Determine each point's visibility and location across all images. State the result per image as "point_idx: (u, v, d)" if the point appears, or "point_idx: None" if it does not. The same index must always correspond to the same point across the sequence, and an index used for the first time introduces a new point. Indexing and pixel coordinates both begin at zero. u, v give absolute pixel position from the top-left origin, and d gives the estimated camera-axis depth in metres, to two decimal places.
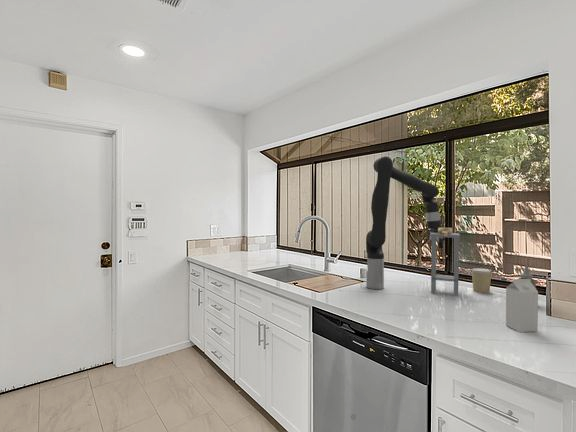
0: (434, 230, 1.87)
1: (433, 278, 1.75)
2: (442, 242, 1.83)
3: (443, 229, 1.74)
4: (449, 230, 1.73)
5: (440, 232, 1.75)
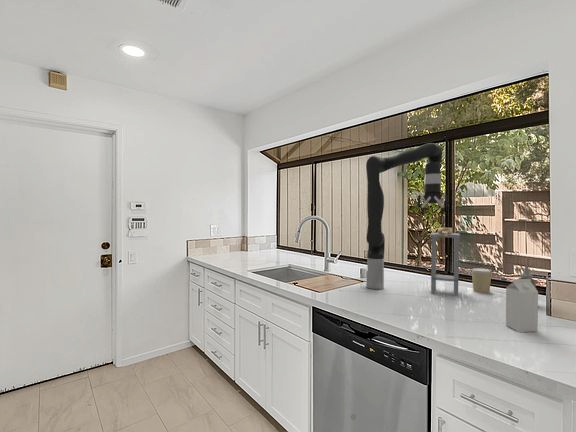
0: (436, 195, 1.62)
1: (433, 278, 1.75)
2: None
3: (443, 229, 1.74)
4: (449, 230, 1.73)
5: (440, 232, 1.75)
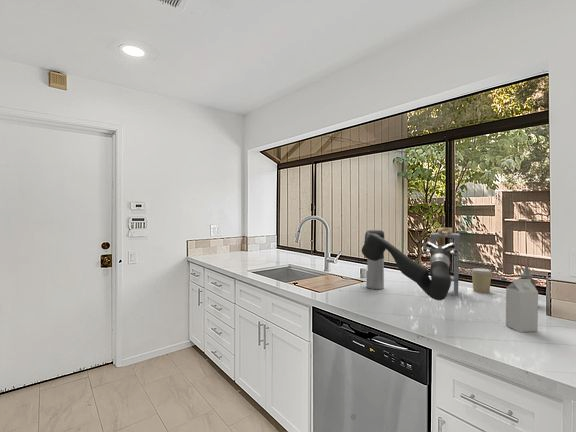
0: None
1: None
2: None
3: (443, 229, 1.74)
4: (449, 230, 1.73)
5: (440, 232, 1.75)
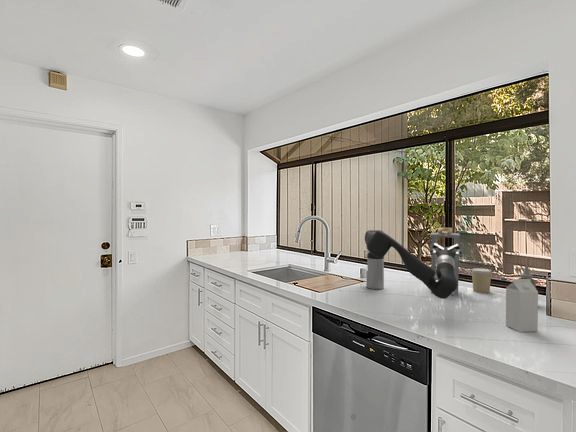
0: None
1: None
2: None
3: (443, 229, 1.74)
4: (449, 230, 1.73)
5: (440, 232, 1.75)
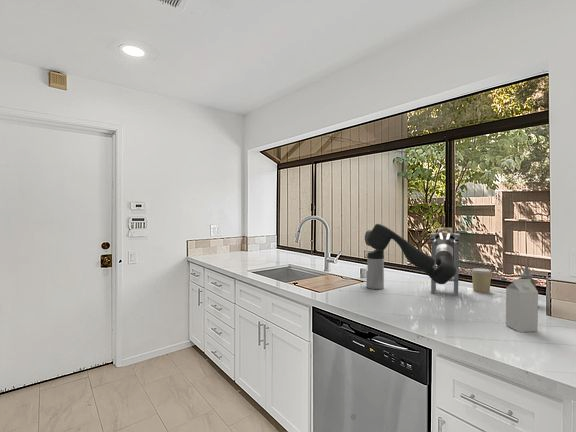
0: None
1: None
2: None
3: (443, 229, 1.74)
4: None
5: None
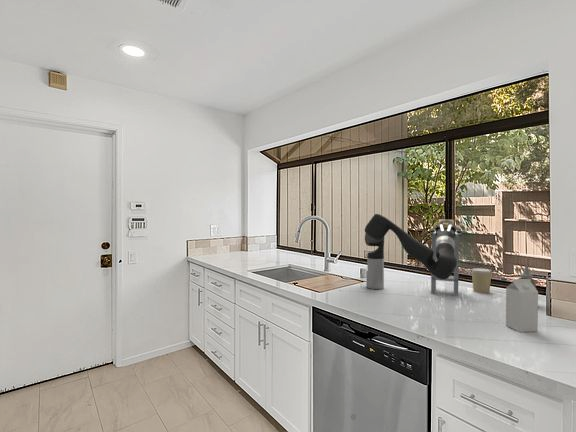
0: None
1: (433, 278, 1.75)
2: (451, 224, 1.54)
3: (444, 221, 1.64)
4: None
5: None
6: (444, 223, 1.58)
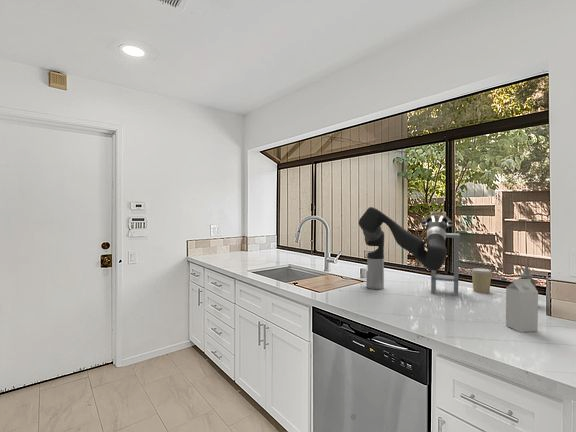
0: None
1: (433, 278, 1.75)
2: None
3: (436, 213, 1.60)
4: None
5: None
6: None
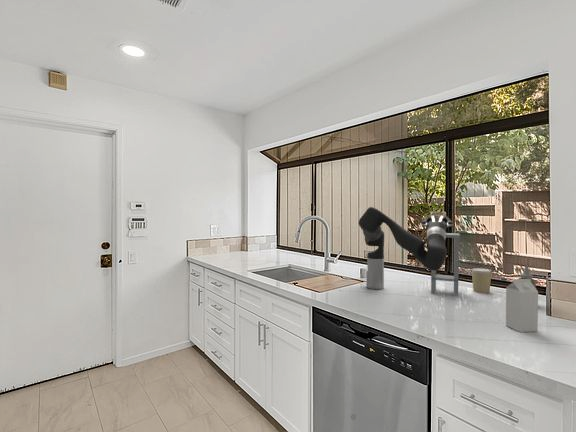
0: None
1: (433, 278, 1.75)
2: None
3: (436, 213, 1.60)
4: None
5: None
6: None
